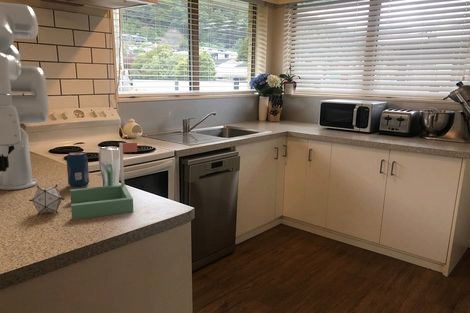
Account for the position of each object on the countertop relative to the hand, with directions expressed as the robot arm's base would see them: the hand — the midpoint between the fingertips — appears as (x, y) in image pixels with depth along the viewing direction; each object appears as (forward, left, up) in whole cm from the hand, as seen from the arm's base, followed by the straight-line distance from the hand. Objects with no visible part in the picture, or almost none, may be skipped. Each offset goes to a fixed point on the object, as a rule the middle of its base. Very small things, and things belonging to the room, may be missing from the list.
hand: (2, 170), depth 97 cm
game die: (+10, +1, -14) cm, 17 cm away
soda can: (+19, +27, -14) cm, 35 cm away
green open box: (+26, +1, -14) cm, 30 cm away
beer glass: (+29, +17, -14) cm, 36 cm away
